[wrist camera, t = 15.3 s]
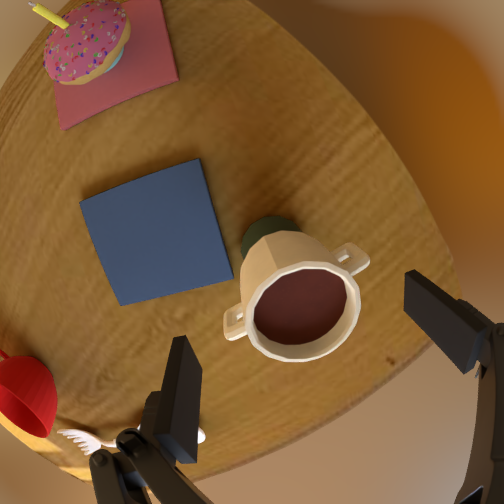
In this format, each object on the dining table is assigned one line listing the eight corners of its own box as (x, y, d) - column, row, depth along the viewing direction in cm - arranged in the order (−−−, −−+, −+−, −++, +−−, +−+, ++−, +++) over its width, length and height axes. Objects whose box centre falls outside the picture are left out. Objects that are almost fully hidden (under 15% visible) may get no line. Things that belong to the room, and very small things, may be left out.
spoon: (59, 421, 36) (54, 432, 33) (186, 403, 34) (184, 421, 31) (88, 445, 40) (84, 457, 36) (215, 432, 38) (215, 449, 34)
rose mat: (159, -7, 17) (157, -11, 16) (179, 80, 21) (177, 77, 20) (55, 43, 17) (50, 41, 16) (65, 130, 21) (60, 130, 20)
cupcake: (56, 67, 18) (-17, 43, 6) (112, 8, 16) (61, -46, 5) (99, 108, 20) (20, 88, 9) (161, 42, 19) (119, -22, 7)
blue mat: (199, 158, 24) (198, 158, 23) (233, 274, 28) (233, 278, 27) (83, 200, 24) (78, 202, 23) (123, 301, 28) (120, 306, 27)
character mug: (243, 298, 29) (254, 390, 17) (206, 243, 27) (189, 317, 15) (333, 247, 28) (398, 312, 16) (303, 187, 26) (367, 217, 13)
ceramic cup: (14, 309, 27) (-23, 347, 18) (83, 391, 33) (63, 437, 24) (-11, 332, 29) (-40, 364, 19) (47, 401, 34) (28, 438, 25)
